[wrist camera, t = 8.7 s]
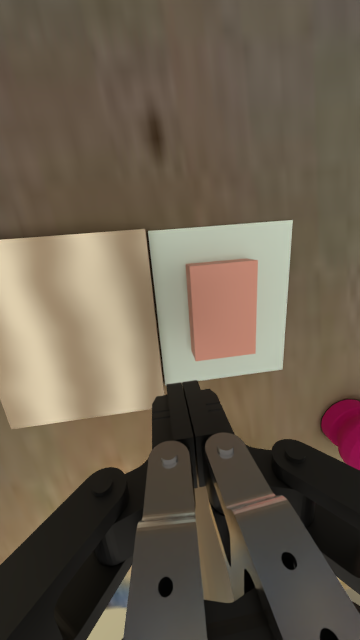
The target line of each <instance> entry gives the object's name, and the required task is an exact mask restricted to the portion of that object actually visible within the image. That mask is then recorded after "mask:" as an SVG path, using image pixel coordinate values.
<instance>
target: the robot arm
mask: <svg viewBox="0 0 360 640" xmlns="http://www.w3.org/2000/svg"><path fill="white" fill-rule="evenodd" d="M166 385H167V394H168V395H163V396H156V398H155V400H154V402H153V403H152V451H151V453H150V455H149V458H148V460H147V461H146V462H145V463H144V464H143V465H141V466H140V467H138V468H137V469H135V470H133V471H131V472H128V473H126V474H124V473H123V472H122V471H121V470H120V469H118V468H113V467H109V468H104V469H101V470H98V471H97V472H95V473H93V474H92V475H91V476H90V477H89V478H87V479H86V480H85V481H84V482H83V483H82V484H81V485H80V486H79V487H78V488H77V489H76V490H75V491H74V492H73V493H72V494H71V495H70V496H69V497H68V498H67V499H66V500H65V501H64V502H63V503H62V504H61V505H60V506H59V507H58V508H57V509H56V510H55V511H54V512H53V513H52V514H51V515H50V516H49V517H48V518H47V519H46V520H45V521H44V522H43V523H42V524H41V525H40V526H39V527H38V528H37V529H36V530H35V531H34V532H33V533H32V534H31V535H30V536H29V537H28V538H27V539H26V540H25V541H24V542H23V543H22V544H21V545H20V546H19V547H18V548H17V549H16V550H15V551H14V552H13V553H12V554H11V555H10V556H9V557H8V558H7V559H6V560H5V561H4V562H3V563H2V564H1V565H0V640H86V639H87V638H88V636H89V634H90V633H91V631H92V629H93V628H94V626H95V624H96V623H97V621H98V619H99V618H100V616H101V615H102V613H103V611H104V610H105V608H106V607H107V605H108V603H109V602H110V600H111V598H112V597H113V595H114V593H115V592H116V590H117V589H118V587H119V585H120V584H121V582H122V580H123V579H124V577H125V575H126V574H127V572H128V570H129V569H130V567H131V565H132V570H131V579H130V587H129V596H128V604H127V612H126V621H125V629H124V638H123V639H122V640H360V606H359V605H357V604H356V603H354V602H352V601H351V600H350V598H349V596H348V595H347V593H346V591H345V590H344V588H343V587H342V585H341V583H340V582H339V580H338V579H337V577H338V578H339V579H340V580H342V581H343V582H344V583H346V584H347V585H348V586H349V587H351V588H352V589H353V590H354V591H356V592H357V593H358V594H360V470H358V469H356V468H354V467H352V466H349V465H347V464H345V463H343V462H341V461H339V460H337V459H335V458H333V457H331V456H329V455H327V454H325V453H323V452H321V451H318V450H316V449H314V448H312V447H310V446H308V445H306V444H304V443H302V442H299V441H296V440H292V439H284V440H280V441H278V442H276V443H275V444H274V446H273V448H272V450H264V449H257V448H252V447H249V446H247V445H245V444H244V442H243V441H242V440H241V439H240V438H239V437H238V436H236V435H235V434H234V432H233V430H232V428H231V426H230V423H229V421H228V419H227V417H226V415H225V412H224V410H223V408H222V406H221V404H220V401H219V399H218V397H217V395H216V394H215V393H214V392H213V391H211V390H210V389H205V390H200V387H199V384H198V381H197V380H193V381H186V382H182V384H181V382H179V383H171V384H166ZM336 576H337V577H336Z"/></svg>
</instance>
